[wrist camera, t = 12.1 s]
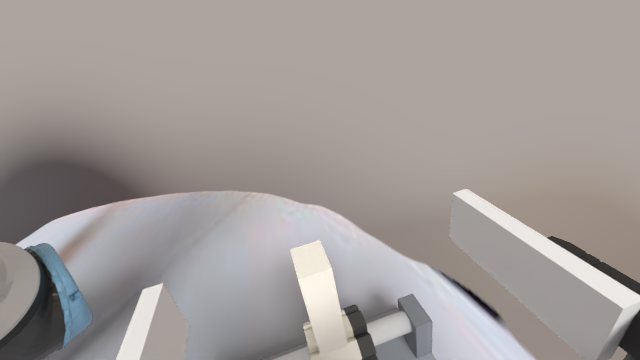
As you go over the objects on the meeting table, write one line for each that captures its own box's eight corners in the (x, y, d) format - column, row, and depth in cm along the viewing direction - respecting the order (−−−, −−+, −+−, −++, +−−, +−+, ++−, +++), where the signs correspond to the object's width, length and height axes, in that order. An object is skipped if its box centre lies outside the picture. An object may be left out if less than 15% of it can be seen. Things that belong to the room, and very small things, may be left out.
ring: (368, 390, 30) (362, 352, 27) (346, 333, 37) (339, 297, 33) (382, 384, 31) (377, 346, 27) (358, 328, 37) (351, 292, 34)
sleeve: (325, 408, 30) (289, 297, 22) (310, 347, 36) (277, 243, 28) (368, 390, 30) (349, 276, 22) (346, 333, 37) (325, 228, 28)
